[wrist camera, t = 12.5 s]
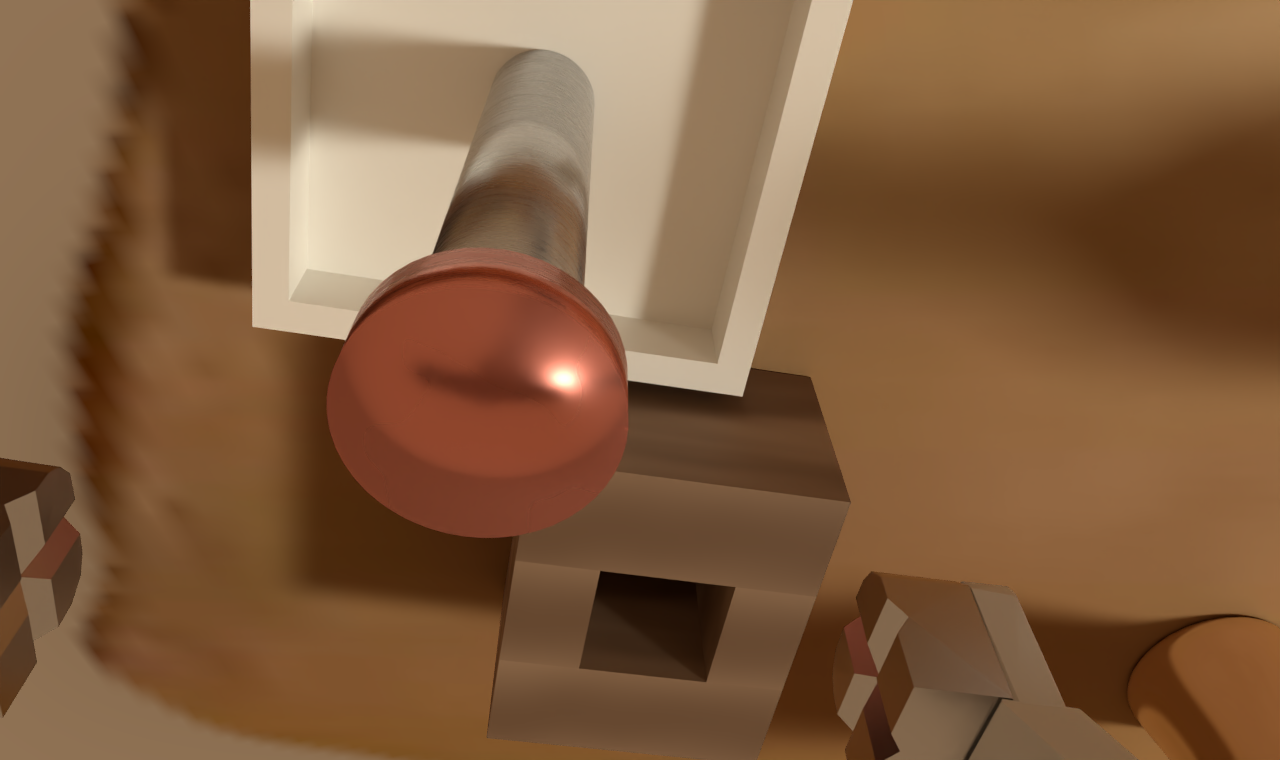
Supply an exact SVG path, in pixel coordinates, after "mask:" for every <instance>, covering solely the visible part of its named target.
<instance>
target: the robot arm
mask: <svg viewBox="0 0 1280 760" xmlns="http://www.w3.org/2000/svg"><path fill="white" fill-rule="evenodd" d="M74 500H75V497H74V491H73V486H72V481H71V476H70V473H69V472H67V471H66V470H64V469H63V468H61V467H57V466H51V465H44V464H37V463H31V462H24V461H17V460H11V459H4V458H0V718H3V717H4V715H5V714H6V712H7V710H8V709H9V707H10V705H11V704H12V702H13V700H14V699H15V697H16V696H17V694H18V692H19V690H20V689H21V687H22V686H23V684H24V683H25V681H26V679H27V677H28V676H29V674H30V673H31V671H32V670H33V668H34V666H35V664H36V663H37V660H36V654H35V649H34V643H33V641H34V640H36V639H38V638H40V637H41V636H43V635H45V634H46V633H48V632H50V631H52V630H54V629H55V628H57V627H58V626H59V625H60V623H61V621H62V620H63V618H64V616H65V614H66V613H67V611H68V609H69V608H70V606H71V604H72V601H73V598H74V595H75V592H76V588H77V585H78V582H79V579H80V576H81V564H82V546H81V538H80V533H79V532H78V531H77V530H76V529H75V528H74V527H73V526H72V525H71V524H70V523H69V522H68V521H67V520H66V519H65V518H64V515H65V514H66V512H67V511H68V509H69V508H70V506H71V505H72V503H73V502H74ZM856 600H857V604H858V608H859V612H860V617H858V618H857V619H855V620H854V621H852V622H851V623H849V624H848V625H846V626H845V627H844V628H843V631H842V633H841V636H840V639H839V642H838V644H837V647H836V651H835V658H834V666H833V673H832V677H833V695H834V700H835V705H836V710H837V714H838V716H839V717H840V718H841V719H842V720H843V721H844V722H845V723H846V724H847V725H848V726H849V727H850V728H851V730H852V731H853V732H852V735H851V737H850V739H849V742H848V744H847V746H846V748H845V753H846V758H847V760H1138V759H1137V758H1136V757H1135V756H1134V755H1132V754H1131V753H1130V752H1129V751H1128V750H1127V749H1125V748H1124V747H1123V746H1122V745H1121V744H1120V743H1119V742H1117V741H1116V740H1115V739H1114V738H1113V737H1112V736H1111V735H1109V734H1108V733H1107V732H1106V731H1105V730H1104V729H1102V728H1101V727H1100V726H1099V725H1098V724H1097V723H1096V722H1094V721H1093V720H1092V719H1091V718H1090V717H1089V716H1087V715H1086V714H1085V713H1084V712H1083V711H1082V710H1081V709H1078V708H1070V707H1066V706H1065V703H1064V701H1063V699H1062V697H1061V694H1060V692H1059V690H1058V688H1057V686H1056V683H1055V681H1054V679H1053V677H1052V674H1051V672H1050V670H1049V668H1048V665H1047V663H1046V661H1045V659H1044V656H1043V654H1042V652H1041V650H1040V648H1039V645H1038V643H1037V641H1036V639H1035V636H1034V634H1033V632H1032V630H1031V627H1030V625H1029V623H1028V621H1027V619H1026V616H1025V614H1024V612H1023V610H1022V607H1021V605H1020V603H1019V601H1018V598H1017V596H1016V594H1015V593H1014V592H1013V591H1012V590H1011V589H1009V588H1008V587H1007V586H999V585H990V584H981V583H972V582H960V583H959V582H956V581H948V580H940V579H931V578H923V577H915V576H907V575H898V574H890V573H882V572H874V571H871V572H870V573H869V574H868V576H867V577H866V578H865V579H864V580H863V582H862V585H861V587H860V589H859V592H858V594H857V596H856Z"/></svg>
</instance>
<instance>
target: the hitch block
mask: <svg viewBox="0 0 1280 760" xmlns="http://www.w3.org/2000/svg"><path fill="white" fill-rule="evenodd" d="M628 422H629V428H628V435H627V443H626V446H625V450H624V453H623V456H622V459H621V461H620V463H619V465H618V468H617V470H616V472H615V474H614V475H613V476H612V478H611V479H610V481H609V482H608V484H607V485H606V487H605V488H604V489H603V490H602V491H601V492H600V493H599V494H598V495H597V497H596V498H595V499H593V500H592V501H591V502H590V503H589V504H588V505H586V506H585V507H584V508H583V509H581V510H580V511H578V512H577V513H575V514H574V515H572V516H570V517H569V518H567V519H565V520H563V521H561V522H559V523H557V524H555V525H553V526H550V527H547V528H544V529H541V530H538V531H535V532H531V533H527V534H522V535H518V536H513V537H512V544H511V550H510V556H509V563H508V569H507V575H506V582H505V588H504V595H503V603H502V612H501V620H500V629H499V637H498V646H497V654H496V663H495V671H494V680H493V688H492V697H491V705H490V714H489V722H488V731H487V738H492V739H502V740H512V741H522V742H532V743H543V744H553V745H563V746H573V747H583V748H593V749H603V750H613V751H623V752H633V753H643V754H653V755H663V756H673V757H683V758H693V759H703V760H757V758H758V756H759V753H760V750H761V747H762V745H763V742H764V739H765V736H766V734H767V731H768V728H769V725H770V723H771V720H772V717H773V714H774V712H775V709H776V706H777V704H778V701H779V698H780V695H781V693H782V690H783V687H784V684H785V682H786V679H787V676H788V673H789V671H790V668H791V665H792V662H793V660H794V657H795V654H796V652H797V649H798V646H799V643H800V641H801V638H802V635H803V632H804V630H805V627H806V624H807V621H808V619H809V616H810V613H811V610H812V608H813V605H814V602H815V600H816V597H817V594H818V591H819V589H820V586H821V583H822V580H823V578H824V575H825V572H826V569H827V567H828V564H829V561H830V558H831V556H832V553H833V550H834V547H835V545H836V542H837V539H838V537H839V534H840V531H841V528H842V526H843V523H844V520H845V517H846V515H847V512H848V509H849V506H850V504H851V501H850V498H849V495H848V492H847V489H846V486H845V483H844V480H843V476H842V473H841V470H840V467H839V464H838V461H837V458H836V455H835V452H834V449H833V446H832V442H831V439H830V436H829V433H828V430H827V427H826V424H825V421H824V418H823V415H822V412H821V408H820V405H819V402H818V399H817V396H816V393H815V390H814V387H813V384H812V381H811V378H810V377H804V376H798V375H791V374H784V373H777V372H770V371H764V370H757V369H750V371H749V375H748V378H747V382H746V386H745V389H744V393H743V396H742V397H741V396H734V395H727V394H720V393H713V392H706V391H699V390H692V389H685V388H678V387H671V386H664V385H657V384H650V383H643V382H636V381H629V380H628Z"/></svg>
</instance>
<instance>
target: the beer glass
mask: <svg viewBox="0 0 1280 760" xmlns="http://www.w3.org/2000/svg"><path fill="white" fill-rule="evenodd" d="M1127 697H1128V702H1129V706H1130V708H1131V711H1132V712H1133V714H1134V716H1135V717H1136V719H1137V720H1138V722H1139V723H1140V724H1141V726H1142V727H1143V728H1144V729H1145V731H1146V732H1147V733H1148V734H1149V735H1150V737H1151V738H1152V739H1153V740H1154V741H1155V743H1156V744H1157V745H1158V746H1159V747H1160V749H1161V750H1162V751H1163V752H1164V753H1165V755H1166V756H1167V757H1168V759H1169V760H1280V628H1279V627H1277V626H1276V625H1274V624H1272V623H1269V622H1267V621H1264V620H1260V619H1255V618H1248V617H1224V618H1216V619H1211V620H1206V621H1203V622H1199V623H1196V624H1193V625H1190V626H1188V627H1185V628H1183V629H1181V630H1179V631H1177V632H1175V633H1173V634H1171V635H1169V636H1168V637H1166V638H1164V639H1163V640H1161V641H1160V642H1159V643H1157V644H1156V645H1155V646H1154V647H1152V648H1151V649H1150V650H1149V651H1148V652H1147V653H1146V654H1145V655H1144V656H1143V657H1142V659H1141V660H1140V661H1139V662H1138V664H1137V665H1136V667H1135V669H1134V670H1133V672H1132V674H1131V677H1130V679H1129V683H1128V688H1127Z"/></svg>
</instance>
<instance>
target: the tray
mask: <svg viewBox="0 0 1280 760" xmlns="http://www.w3.org/2000/svg"><path fill="white" fill-rule="evenodd" d="M852 2H853V0H250V37H251V181H252V325H253V327H259V328H266V329H273V330H280V331H287V332H294V333H301V334H308V335H315V336H322V337H329V338H336V339H343V340H346V338H347V336H348V334H349V331H350V329H351V327H352V325H353V323H354V320H355V318H356V316H357V314H358V312H359V310H360V308H361V307H362V305H363V304H364V302H365V301H366V299H367V298H368V296H369V295H370V294H371V293H372V292H373V291H374V290H375V289H376V288H377V287H378V285H379V284H380V283H381V282H383V281H384V280H385V279H386V278H388V277H389V276H390V275H391V274H393V273H394V272H395V271H397V270H399V269H401V268H402V267H404V266H406V265H407V264H409V263H411V262H413V261H416V260H418V259H421V258H423V257H425V256H428V255H432V254H433V251H434V248H435V245H436V242H437V239H438V237H439V234H440V231H441V228H442V225H443V222H444V219H445V217H446V214H447V211H448V208H449V205H450V202H451V200H452V197H453V194H454V191H455V188H456V185H457V183H458V180H459V177H460V174H461V171H462V168H463V166H464V163H465V160H466V157H467V154H468V151H469V148H470V146H471V143H472V140H473V137H474V134H475V131H476V129H477V126H478V123H479V120H480V117H481V114H482V112H483V109H484V106H485V103H486V100H487V97H488V95H489V92H490V89H491V86H492V83H493V80H494V78H495V76H496V74H497V73H498V71H499V70H500V68H501V67H502V66H503V65H504V64H505V63H506V62H507V61H508V60H510V59H511V58H513V57H514V56H516V55H518V54H520V53H523V52H526V51H531V50H550V51H554V52H557V53H560V54H562V55H564V56H566V57H568V58H570V59H571V60H572V61H574V62H575V63H576V64H577V65H578V66H579V67H580V68H581V69H582V70H583V71H584V73H585V74H586V76H587V77H588V79H589V81H590V83H591V86H592V89H593V93H594V102H595V107H594V125H593V142H592V160H591V177H590V195H589V213H588V230H587V248H586V266H585V283H584V287H586V288H587V289H588V290H589V291H590V292H591V293H592V294H593V295H594V296H595V297H596V298H597V299H598V300H599V302H600V303H601V304H602V305H603V306H604V308H605V309H606V311H607V312H608V314H609V315H610V317H611V318H612V320H613V322H614V324H615V326H616V328H617V330H618V332H619V334H620V337H621V340H622V343H623V346H624V349H625V354H626V360H627V370H628V380H629V381H636V382H643V383H650V384H657V385H664V386H671V387H678V388H685V389H692V390H699V391H706V392H713V393H720V394H727V395H734V396H741V397H742V396H743V393H744V389H745V386H746V382H747V378H748V375H749V371H750V368H751V364H752V361H753V357H754V353H755V350H756V346H757V343H758V339H759V335H760V332H761V328H762V325H763V321H764V318H765V314H766V310H767V307H768V303H769V300H770V296H771V292H772V289H773V285H774V282H775V278H776V275H777V271H778V267H779V264H780V260H781V257H782V253H783V250H784V246H785V242H786V239H787V235H788V232H789V228H790V224H791V221H792V217H793V214H794V210H795V207H796V203H797V199H798V196H799V192H800V189H801V185H802V181H803V178H804V174H805V171H806V167H807V164H808V160H809V156H810V153H811V149H812V146H813V142H814V138H815V135H816V131H817V128H818V124H819V121H820V117H821V113H822V110H823V106H824V103H825V99H826V96H827V92H828V88H829V85H830V81H831V78H832V74H833V70H834V67H835V63H836V60H837V56H838V53H839V49H840V45H841V42H842V38H843V35H844V31H845V27H846V24H847V20H848V17H849V13H850V10H851V6H852Z"/></svg>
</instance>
